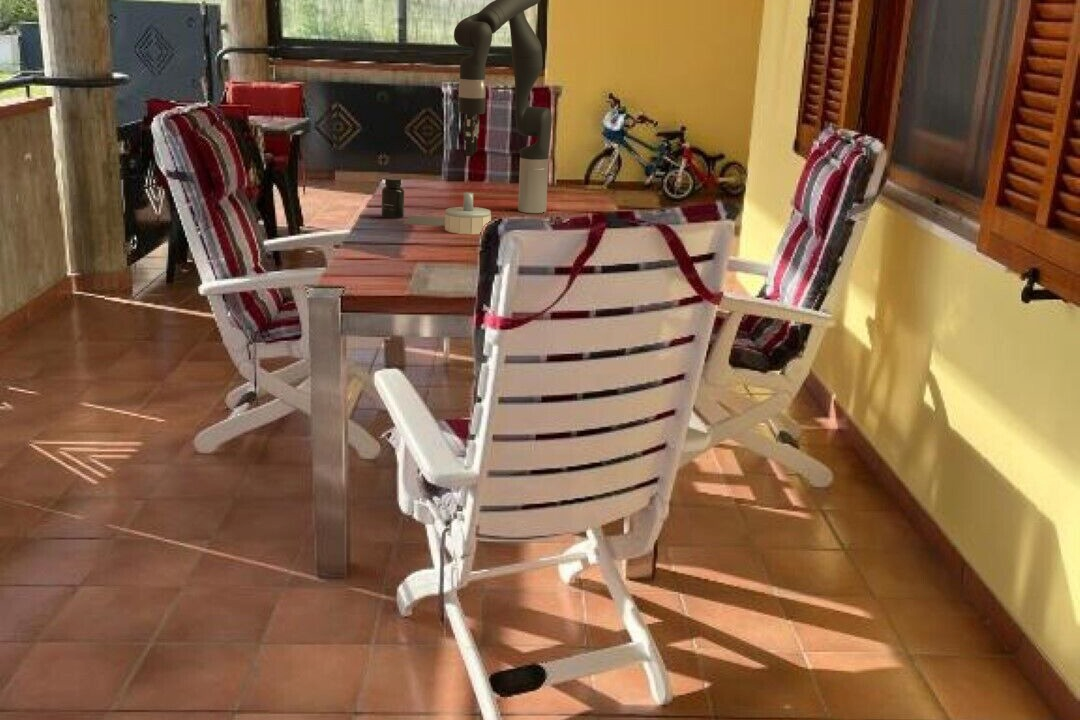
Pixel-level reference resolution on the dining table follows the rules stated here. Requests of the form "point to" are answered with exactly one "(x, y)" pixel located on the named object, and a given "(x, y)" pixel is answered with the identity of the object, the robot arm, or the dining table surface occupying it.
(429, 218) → the mat
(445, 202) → the dining table surface
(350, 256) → the dining table surface
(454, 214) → the lid
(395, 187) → the supplement bottle
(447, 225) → the bowl
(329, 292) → the dining table surface
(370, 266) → the dining table surface
